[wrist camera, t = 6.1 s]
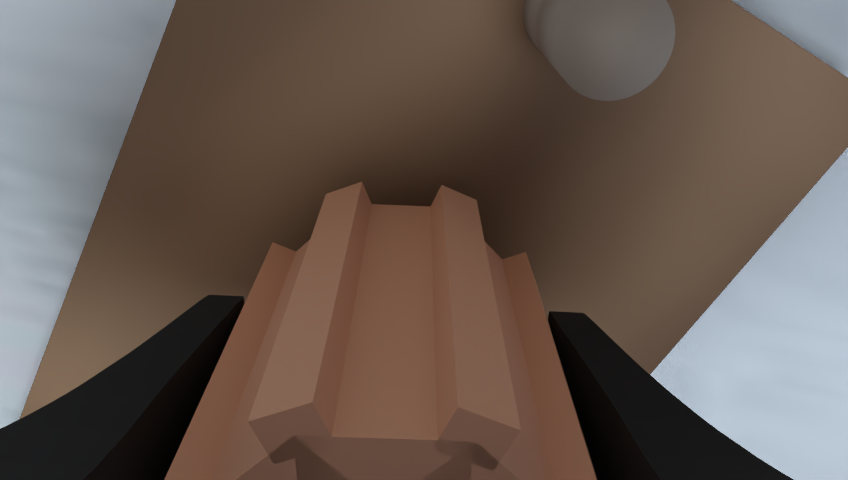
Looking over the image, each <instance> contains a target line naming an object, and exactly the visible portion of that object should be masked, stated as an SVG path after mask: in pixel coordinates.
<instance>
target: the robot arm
mask: <svg viewBox="0 0 848 480" xmlns="http://www.w3.org/2000/svg"><path fill="white" fill-rule="evenodd" d="M244 304H245V303H244V296H227V295H207V296H206V297H204V298H203V299H202V300H200V301H199V302H197V303H196V304H195V305H193V306H192V307H191V308H189V309H188V310H187V311H185V312H184V313H183V314H181V315H180V316H179V317H177V318H176V319H175V320H173V321H172V322H171V323H169V324H168V325H167V326H165V327H164V328H163V329H161V330H160V331H159V332H157V333H156V334H154V335H153V336H152V337H150V338H149V339H148V340H146V341H145V342H144V343H142V344H141V345H139V346H138V347H137V348H135V349H134V350H133V351H131V352H130V353H128V354H127V355H125V356H124V357H122V358H121V359H119V360H118V361H116V362H115V363H113V364H112V365H110V366H109V367H107V368H106V369H104V370H103V371H101V372H99V373H98V374H96V375H95V376H93V377H92V378H90V379H89V380H87V381H86V382H84V383H83V384H81V385H80V386H78V387H76V388H75V389H73V390H71V391H70V392H68V393H66V394H65V395H63V396H61V397H59V398H58V399H56V400H54V401H53V402H51V403H49V404H47V405H45V406H43V407H42V408H40V409H38V410H36V411H34V412H32V413H31V414H29V415H27V416H25V417H23V418H21V419H19V420H17V421H15V422H13V423H12V424H10V425H8V426H6V427H3V428H1V429H0V480H164V479H165V477H166V475H167V473H168V471H169V468H170V466H171V464H172V462H173V460H174V457H175V455H176V453H177V451H178V449H179V446H180V444H181V442H182V440H183V438H184V435H185V433H186V431H187V429H188V427H189V425H190V422H191V420H192V418H193V416H194V414H195V411H196V409H197V407H198V405H199V403H200V400H201V398H202V396H203V394H204V392H205V389H206V387H207V385H208V383H209V381H210V378H211V376H212V374H213V372H214V370H215V367H216V365H217V363H218V361H219V359H220V357H221V354H222V352H223V350H224V348H225V346H226V343H227V341H228V339H229V337H230V335H231V332H232V330H233V328H234V326H235V324H236V321H237V319H238V317H239V315H240V313H241V310H242V308H243V306H244ZM548 322H549V326H550V329H551V332H552V335H553V339H554V342H555V345H556V348H557V351H558V355H559V358H560V361H561V364H562V367H563V370H564V374H565V377H566V380H567V383H568V386H569V390H570V393H571V396H572V399H573V402H574V406H575V409H576V412H577V415H578V418H579V422H580V425H581V428H582V431H583V434H584V438H585V441H586V444H587V447H588V451H589V454H590V457H591V460H592V463H593V467H594V470H595V473H596V476H597V479H598V480H793V479H792V478H790V477H788V476H786V475H785V474H783V473H781V472H780V471H778V470H776V469H775V468H773V467H772V466H770V465H768V464H767V463H765V462H764V461H762V460H760V459H759V458H757V457H756V456H754V455H753V454H751V453H750V452H748V451H747V450H746V449H744V448H743V447H741V446H740V445H738V444H737V443H735V442H734V441H733V440H731V439H730V438H728V437H727V436H725V435H724V434H722V433H721V432H720V431H718V430H717V429H715V428H714V427H713V426H711V425H710V424H709V423H707V422H706V421H705V420H703V419H702V418H701V417H700V416H698V415H697V414H696V413H695V412H693V411H692V410H691V409H690V408H688V407H687V406H686V405H685V404H683V403H682V402H681V401H680V400H679V399H677V398H676V397H675V396H674V395H672V394H671V393H670V392H669V391H668V390H667V389H665V388H664V387H663V386H662V385H661V384H660V383H658V382H657V381H656V380H655V379H654V378H653V377H652V376H651V375H649V374H648V373H647V372H646V371H645V370H644V369H643V368H642V367H641V366H640V365H639V364H637V363H636V362H635V361H634V360H633V359H632V358H631V357H630V356H629V355H628V354H627V353H626V352H625V351H624V350H623V349H622V348H621V347H619V346H618V345H617V344H616V343H615V342H614V341H613V340H612V339H611V338H610V337H609V336H608V335H607V334H606V333H605V332H604V331H603V330H602V329H601V328H600V327H599V326H598V325H597V324H596V323H595V322H593V321H592V320H591V319H590V318H589V317H588V316H587V315H586V314H584V313H577V312H557V311H549V315H548Z"/></svg>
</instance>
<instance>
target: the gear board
mask: <svg viewBox="0 0 848 480" xmlns="http://www.w3.org/2000/svg"><path fill="white" fill-rule="evenodd" d="M847 147H848V78H847V77H846V76H844V75H843V74H841V73H840V72H838V71H837V70H835V69H834V68H832V67H831V66H829V65H828V64H826V63H825V62H823V61H822V60H820V59H819V58H817V57H816V56H814V55H813V54H811V53H809V52H808V51H806V50H805V49H803V48H802V47H800V46H799V45H797V44H796V43H794V42H793V41H791V40H790V39H788V38H787V37H785V36H784V35H782V34H781V33H779V32H778V31H776V30H775V29H773V28H772V27H770V26H769V25H767V24H766V23H764V22H763V21H761V20H760V19H758V18H757V17H755V16H754V15H752V14H751V13H749V12H748V11H746V10H745V9H743V8H742V7H740V6H739V5H737V4H736V3H734V2H733V1H731V0H176V3H175V6H174V8H173V11H172V14H171V16H170V19H169V22H168V24H167V27H166V30H165V32H164V35H163V38H162V40H161V43H160V46H159V48H158V51H157V54H156V56H155V59H154V62H153V64H152V67H151V70H150V72H149V75H148V78H147V80H146V83H145V86H144V88H143V91H142V94H141V96H140V99H139V102H138V104H137V107H136V110H135V112H134V115H133V118H132V120H131V123H130V126H129V128H128V131H127V134H126V136H125V139H124V142H123V144H122V147H121V150H120V152H119V155H118V158H117V160H116V163H115V166H114V168H113V171H112V174H111V176H110V179H109V182H108V184H107V187H106V190H105V192H104V195H103V198H102V200H101V203H100V206H99V209H98V211H97V214H96V217H95V219H94V222H93V225H92V227H91V230H90V233H89V235H88V238H87V241H86V243H85V246H84V249H83V251H82V254H81V257H80V259H79V262H78V265H77V267H76V270H75V273H74V275H73V278H72V281H71V283H70V286H69V289H68V291H67V294H66V297H65V299H64V302H63V305H62V307H61V310H60V313H59V315H58V318H57V321H56V323H55V326H54V329H53V331H52V334H51V337H50V339H49V342H48V345H47V347H46V350H45V353H44V355H43V358H42V361H41V363H40V366H39V369H38V371H37V374H36V377H35V379H34V382H33V385H32V387H31V390H30V393H29V395H28V398H27V401H26V403H25V406H24V409H23V411H22V414H21V417H20V419H21V418H23V417H25V416H27V415H29V414H31V413H32V412H34V411H36V410H38V409H40V408H42V407H43V406H45V405H47V404H49V403H51V402H53V401H54V400H56V399H58V398H59V397H61V396H63V395H65V394H66V393H68V392H70V391H71V390H73V389H75V388H76V387H78V386H80V385H81V384H83V383H84V382H86V381H87V380H89V379H90V378H92V377H93V376H95V375H96V374H98V373H99V372H101V371H103V370H104V369H106V368H107V367H109V366H110V365H112V364H113V363H115V362H116V361H118V360H119V359H121V358H122V357H124V356H125V355H127V354H128V353H130V352H131V351H133V350H134V349H135V348H137V347H138V346H139V345H141V344H142V343H144V342H145V341H146V340H148V339H149V338H150V337H152V336H153V335H154V334H156V333H157V332H159V331H160V330H161V329H163V328H164V327H165V326H167V325H168V324H169V323H171V322H172V321H173V320H175V319H176V318H177V317H179V316H180V315H181V314H183V313H184V312H185V311H187V310H188V309H189V308H191V307H192V306H193V305H195V304H196V303H197V302H199V301H200V300H202V299H203V298H204V297H206V296H207V295H227V296H244V303H245V302H246V299H247V297H248V295H249V293H250V291H251V289H252V286H253V284H254V282H255V280H256V278H257V275H258V273H259V271H260V269H261V267H262V264H263V262H264V260H265V258H266V256H267V253H268V251H269V249H270V247H271V245H272V242H273V243H276V244H278V245H281V246H283V247H286V248H288V249H291V250H293V251H297V250H298V249H300V248H301V247H302V246H303V245H304V244H305V243H306V242H307V241H309V240H310V239H311V236H312V233H313V230H314V227H315V224H316V221H317V218H318V215H319V212H320V210H321V207H322V204H323V201H324V198H325V195H326V194H327V193H330V192H333V191H336V190H339V189H342V188H345V187H348V186H351V185H353V184H356V183H359V182H362V183H363V185H364V187H365V190H366V192H367V194H368V197H369V199H370V201H371V204H381V205H406V206H431V205H432V203H433V201H434V199H435V197H436V195H437V193H438V191H439V189H440V187H441V185H443V186H446V187H448V188H450V189H452V190H455V191H457V192H459V193H462V194H464V195H466V196H468V197H471V198H473V199H475V200H477V205H478V210H479V215H480V220H481V225H482V230H483V236H484V241H485V242H486V243H487V244H488V245H489V246H490V247H491V248H492V249H493V250H494V251H495V252H496V253H497V255H498V256H499V257H500V258H501V259H505V258H508V257H511V256H515V255H518V254H521V253H524V252H526V254H527V257H528V260H529V263H530V266H531V269H532V272H533V275H534V278H535V281H536V284H537V287H538V290H539V293H540V297H541V300H542V303H543V306H544V309H545V313H546V316H547V319H548V315H549V311H557V312H577V313H584V314H586V315H587V316H588V317H589V318H590V319H591V320H592V321H593V322H595V323H596V324H597V325H598V326H599V327H600V328H601V329H602V330H603V331H604V332H605V333H606V334H607V335H608V336H609V337H610V338H611V339H612V340H613V341H614V342H615V343H616V344H617V345H618V346H619V347H621V348H622V349H623V350H624V351H625V352H626V353H627V354H628V355H629V356H630V357H631V358H632V359H633V360H634V361H635V362H636V363H637V364H639V365H640V366H641V367H642V368H643V369H644V370H645V371H646V372H647V373H648V374H649V375H650V374H651V373H652V372H653V371H654V369H655V368H656V367H657V366H658V365H659V364H660V362H661V361H662V360H663V359H664V358H665V357H666V356H667V354H668V353H669V352H670V351H671V350H672V349H673V348H674V346H675V345H676V344H677V343H678V342H679V341H680V339H681V338H682V337H683V336H684V335H685V334H686V333H687V331H688V330H689V329H690V328H691V327H692V326H693V325H694V323H695V322H696V321H697V320H698V319H699V318H700V316H701V315H702V314H703V313H704V312H705V311H706V310H707V308H708V307H709V306H710V305H711V304H712V303H713V301H714V300H715V299H716V298H717V297H718V296H719V295H720V293H721V292H722V291H723V290H724V289H725V288H726V287H727V285H728V284H729V283H730V282H731V281H732V280H733V278H734V277H735V276H736V275H737V274H738V273H739V272H740V270H741V269H742V268H743V267H744V266H745V265H746V264H747V262H748V261H749V260H750V259H751V258H752V257H753V255H754V254H755V253H756V252H757V251H758V250H759V249H760V247H761V246H762V245H763V244H764V243H765V242H766V240H767V239H768V238H769V237H770V236H771V235H772V234H773V232H774V231H775V230H776V229H777V228H778V227H779V226H780V224H781V223H782V222H783V221H784V220H785V219H786V217H787V216H788V215H789V214H790V213H791V212H792V211H793V209H794V208H795V207H796V206H797V205H798V204H799V203H800V201H801V200H802V199H803V198H804V197H805V196H806V194H807V193H808V192H809V191H810V190H811V189H812V188H813V186H814V185H815V184H816V183H817V182H818V181H819V179H820V178H821V177H822V176H823V175H824V174H825V173H826V171H827V170H828V169H829V168H830V167H831V166H832V165H833V163H834V162H835V161H836V160H837V159H838V158H839V156H840V155H841V154H842V153H843V152H844V151H845V150H846V148H847Z"/></svg>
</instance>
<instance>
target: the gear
mask: <svg viewBox="0 0 848 480" xmlns="http://www.w3.org/2000/svg"><path fill="white" fill-rule="evenodd" d="M164 480H598V479H597V476H596V473H595V470H594V467H593V463H592V460H591V457H590V454H589V451H588V447H587V444H586V441H585V438H584V434H583V431H582V428H581V425H580V422H579V418H578V415H577V412H576V409H575V406H574V402H573V399H572V396H571V393H570V390H569V386H568V383H567V380H566V377H565V374H564V370H563V367H562V364H561V361H560V358H559V355H558V351H557V348H556V345H555V342H554V339H553V335H552V332H551V329H550V326H549V322H548V319H547V316H546V313H545V309H544V306H543V303H542V300H541V297H540V293H539V290H538V287H537V284H536V281H535V278H534V275H533V272H532V269H531V266H530V263H529V260H528V257H527V254H526V252H524V253H521V254H518V255H515V256H511V257H508V258H505V259H501V258H500V257H499V256H498V255H497V253H496V252H495V251H494V250H493V249H492V248H491V247H490V246H489V245H488V244H487V243H486V242H485V241H484V236H483V230H482V225H481V220H480V215H479V210H478V205H477V200H475V199H473V198H471V197H468V196H466V195H464V194H462V193H459V192H457V191H455V190H452V189H450V188H448V187H446V186H443V185H441V187H440V189H439V191H438V193H437V195H436V197H435V199H434V201H433V203H432V205H431V206H406V205H381V204H371V201H370V199H369V197H368V194H367V192H366V190H365V187H364V185H363V183H362V182H359V183H356V184H353V185H351V186H348V187H345V188H342V189H339V190H336V191H333V192H330V193H327V194H326V195H325V198H324V201H323V204H322V207H321V210H320V212H319V215H318V218H317V221H316V224H315V227H314V230H313V233H312V236H311V239H310V240H309V241H307V242H306V243H305V244H304V245H303V246H302V247H301V248H300V249H298V250H297V251H293V250H291V249H288V248H286V247H283V246H281V245H278V244H276V243H273V242H272V245H271V247H270V249H269V251H268V253H267V256H266V258H265V260H264V262H263V264H262V267H261V269H260V271H259V273H258V275H257V278H256V280H255V282H254V284H253V286H252V289H251V291H250V293H249V295H248V297H247V299H246V302H245V304H244V306H243V308H242V310H241V313H240V315H239V317H238V319H237V321H236V324H235V326H234V328H233V330H232V332H231V335H230V337H229V339H228V341H227V343H226V346H225V348H224V350H223V352H222V354H221V357H220V359H219V361H218V363H217V365H216V367H215V370H214V372H213V374H212V376H211V378H210V381H209V383H208V385H207V387H206V389H205V392H204V394H203V396H202V398H201V400H200V403H199V405H198V407H197V409H196V411H195V414H194V416H193V418H192V420H191V422H190V425H189V427H188V429H187V431H186V433H185V435H184V438H183V440H182V442H181V444H180V446H179V449H178V451H177V453H176V455H175V457H174V460H173V462H172V464H171V466H170V468H169V471H168V473H167V475H166V477H165V479H164Z"/></svg>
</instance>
